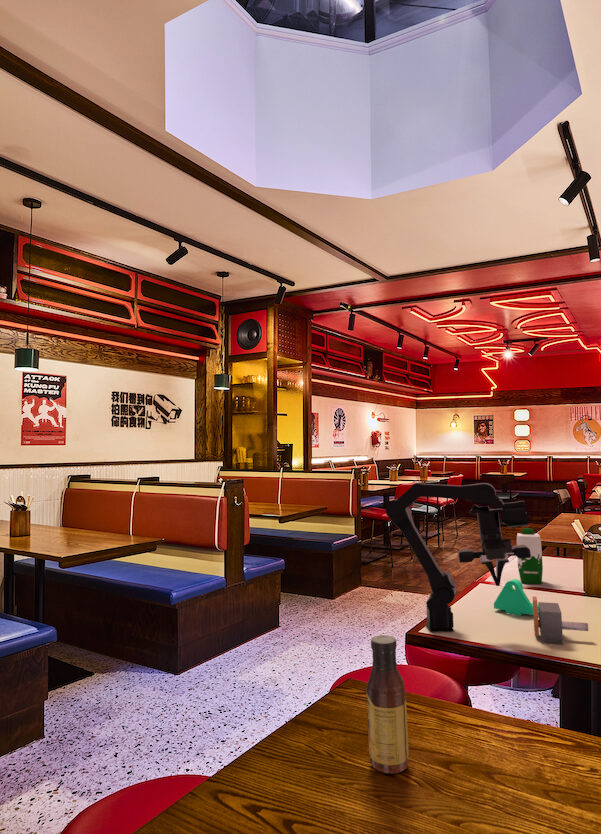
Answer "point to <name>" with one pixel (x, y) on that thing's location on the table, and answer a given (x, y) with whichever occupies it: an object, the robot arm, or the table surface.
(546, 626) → the block
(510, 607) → the camera mount
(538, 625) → the lock pin
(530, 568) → the milk carton
